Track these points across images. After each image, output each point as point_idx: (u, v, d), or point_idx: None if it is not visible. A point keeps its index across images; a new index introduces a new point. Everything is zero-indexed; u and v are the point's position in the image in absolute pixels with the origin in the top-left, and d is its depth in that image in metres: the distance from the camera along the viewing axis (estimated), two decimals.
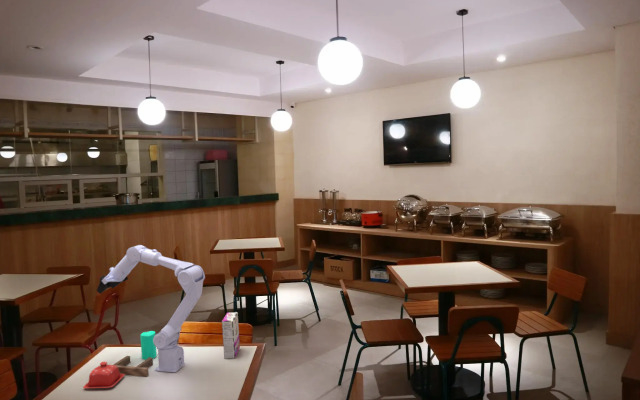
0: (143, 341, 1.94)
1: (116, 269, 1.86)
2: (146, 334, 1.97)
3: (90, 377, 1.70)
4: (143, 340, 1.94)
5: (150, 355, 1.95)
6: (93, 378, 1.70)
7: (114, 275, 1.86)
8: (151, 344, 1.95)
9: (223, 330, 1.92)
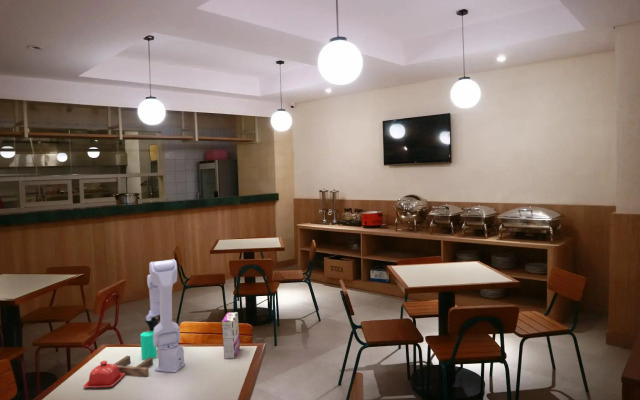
0: (143, 341, 1.94)
1: (151, 305, 2.01)
2: (146, 334, 1.97)
3: (90, 376, 1.71)
4: (143, 340, 1.94)
5: (150, 355, 1.95)
6: (93, 377, 1.71)
7: (153, 311, 2.01)
8: (151, 344, 1.95)
9: (223, 330, 1.92)
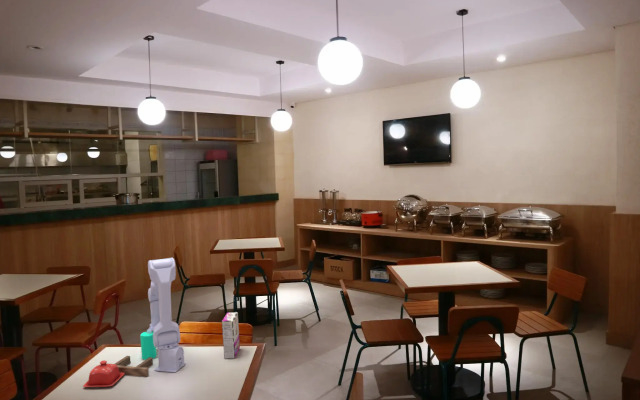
0: (143, 341, 1.94)
1: (152, 319, 2.02)
2: (146, 334, 1.97)
3: (90, 376, 1.71)
4: (143, 340, 1.94)
5: (150, 355, 1.95)
6: (92, 376, 1.71)
7: (154, 325, 2.02)
8: (151, 344, 1.95)
9: (223, 330, 1.92)
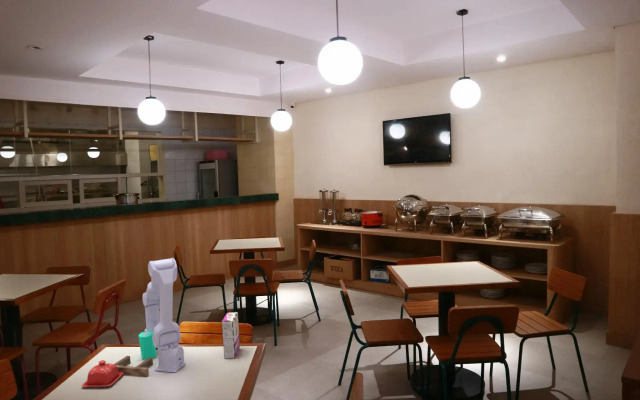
0: (142, 342, 1.93)
1: (147, 324, 1.98)
2: (144, 334, 1.96)
3: (89, 376, 1.72)
4: (142, 341, 1.93)
5: (150, 355, 1.95)
6: (91, 376, 1.71)
7: (149, 330, 1.98)
8: (150, 344, 1.94)
9: (223, 330, 1.92)
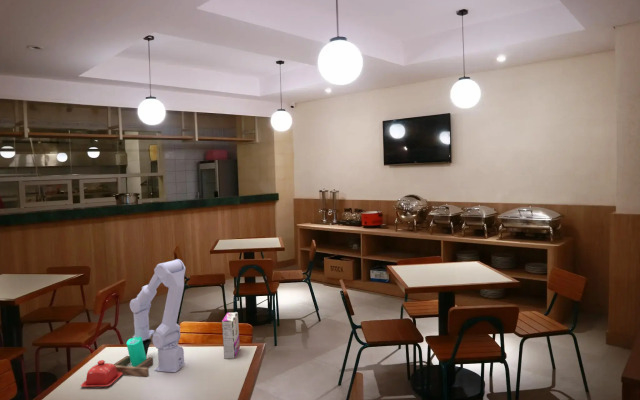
0: (130, 349, 1.86)
1: (135, 330, 1.90)
2: (132, 341, 1.88)
3: (88, 375, 1.72)
4: (130, 348, 1.86)
5: (140, 362, 1.88)
6: (90, 376, 1.71)
7: (138, 336, 1.90)
8: (139, 351, 1.87)
9: (223, 330, 1.92)
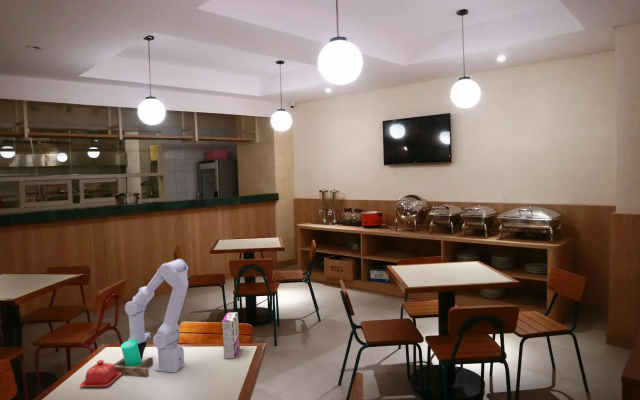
0: (125, 353, 1.83)
1: (131, 333, 1.87)
2: (127, 344, 1.85)
3: (87, 375, 1.72)
4: (125, 352, 1.82)
5: (135, 365, 1.85)
6: (89, 376, 1.72)
7: (133, 339, 1.87)
8: (134, 355, 1.84)
9: (223, 330, 1.92)
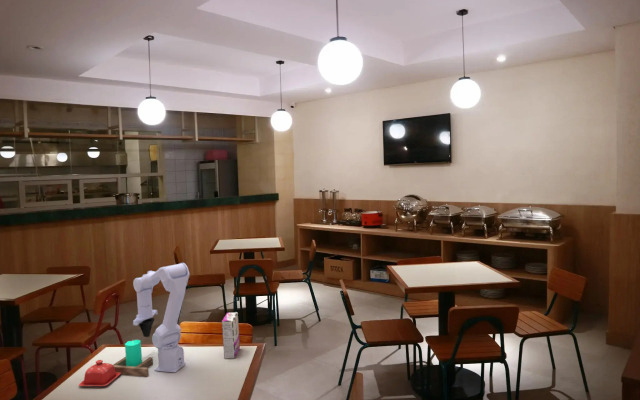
0: (128, 351, 1.84)
1: (139, 309, 1.93)
2: (131, 343, 1.87)
3: (85, 375, 1.72)
4: (128, 350, 1.84)
5: (135, 365, 1.85)
6: (88, 376, 1.72)
7: (141, 315, 1.93)
8: (136, 354, 1.85)
9: (223, 330, 1.92)
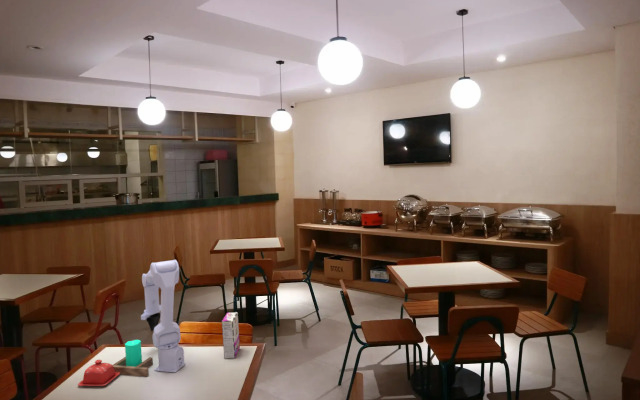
0: (128, 351, 1.84)
1: (146, 304, 2.00)
2: (131, 343, 1.87)
3: (84, 374, 1.73)
4: (128, 350, 1.84)
5: (135, 365, 1.85)
6: (87, 375, 1.72)
7: (148, 310, 1.99)
8: (136, 354, 1.85)
9: (223, 330, 1.92)
